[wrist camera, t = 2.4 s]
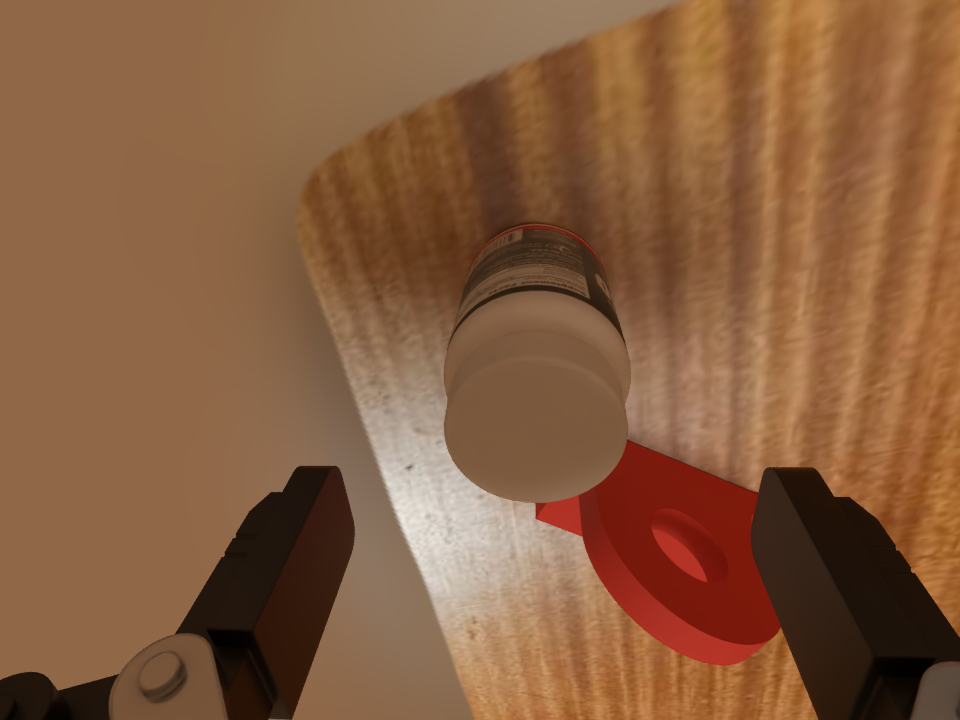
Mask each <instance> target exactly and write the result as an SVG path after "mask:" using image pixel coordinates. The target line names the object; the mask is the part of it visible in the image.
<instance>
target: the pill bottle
mask: <svg viewBox="0 0 960 720" xmlns="http://www.w3.org/2000/svg"><path fill="white" fill-rule="evenodd" d="M630 381H631V367H630V360H629V356H628V352H627V348H626V344H625V340H624V337H623V334H622V330H621V327H620V323H619V320H618V317H617V313H616V309H615V306H614V303H613V299H612V296H611V293H610V289H609V286H608V283H607V278H606V275H605V271H604V269H603V267H602V264H601V262H600V261H599V259H598V257H597V255H596V254H595V252H594V251H593V250H592V248H591V247H590V246H589V245H588V244H587V243H586V242H585V241H584V240H582V239H581V238H579V237H578V236H577V235H575V234H573V233H571V232H569V231H567V230H564V229H562V228H559V227H555V226H551V225H546V224H526V225H521V226H517V227H514V228H511V229H508V230H506V231H504V232H502V233H500V234H499V235H497V236H496V237H494V238H493V239H491V240H490V241H489V242H488V243H487V244H486V245H485V246H484V247H483V248H482V249H481V250H480V251H479V253H478V254H477V256H476V257H475V259H474V261H473V263H472V265H471V267H470V269H469V272H468V276H467V280H466V284H465V288H464V292H463V296H462V299H461V303H460V307H459V310H458V314H457V317H456V321H455V324H454V328H453V331H452V335H451V338H450V341H449V345H448V349H447V354H446V359H445V365H444V384H445V390H446V394H447V397H448V400H447V409H446V415H445V421H444V434H445V441H446V445H447V448H448V451H449V453H450V455H451V457H452V459H453V461H454V463H455V464H456V466H457V467H458V468H459V470H460V471H461V472H462V473H463V474H464V475H465V476H466V477H467V478H468V479H469V480H470V481H472V482H473V483H474V484H476V485H477V486H479V487H480V488H482V489H484V490H485V491H487V492H489V493H492V494H494V495H496V496H499V497H503V498H506V499H510V500H514V501H520V502H529V503H547V502H555V501H560V500H564V499H568V498H571V497H574V496H577V495H579V494H582V493H584V492H586V491H588V490H590V489H591V488H593V487H594V486H596V485H597V484H599V483H600V482H602V481H603V480H604V479H605V478H606V477H607V476H608V475H609V474H610V473H611V472H612V471H613V470H614V468H615V467H616V466H617V464H618V462H619V461H620V459H621V457H622V455H623V452H624V450H625V446H626V442H627V435H628V424H627V417H626V411H625V402H626V400H627V396H628V393H629V388H630Z"/></svg>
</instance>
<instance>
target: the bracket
mask: <svg viewBox="0 0 960 720" xmlns="http://www.w3.org/2000/svg"><path fill="white" fill-rule="evenodd" d="M757 498H758V494H756V493H753V492H751V491H748V490H746V489H744V488H741V487H739V486H736V485H734V484H732V483H729V482H727V481H724V480H722V479H719V478H717V477H715V476H712V475H710V474H707V473H705V472H703V471H700V470H698V469H695V468H693V467H691V466H688V465H686V464H683V463H681V462H678V461H676V460H674V459H671V458H669V457H666V456H664V455H662V454H659V453H657V452H654V451H652V450H650V449H647V448H645V447H642V446H640V445H638V444H635V443H633V442H630V441H628V440H627V442H626V446H625V450H624V452H623V455H622V457H621V459H620V461H619V462H618V464H617V466H616V467H615V468H614V470H613V471H612V472H611V473H610V474H609V475H608V476H607V477H606V478H605V479H604V480H603V481H602V482H600V483H599V484H597V485H596V486H594V487H593V488H591V489H590V490H588V491H586V492H584V493H582V494H579V495H577V496H574V497H571V498H568V499H564V500H560V501H555V502H547V503H536V519H538V520H540V521H543V522H546V523H548V524H551V525H553V526H556V527H559V528H561V529H564V530H566V531H569V532H572V533H574V534H577V535H580V536H582V537H583V540H584V544H585V548H586V551H587V553H588V556H589V559H590V561H591V563H592V565H593V567H594V569H595V571H596V573H597V575H598V576H599V578H600V580H601V581H602V583H603V584H604V586H605V587H606V589H607V590H608V592H609V593H610V594H611V596H612V597H613V598H614V599H615V601H616V602H617V603H618V604H619V605H620V606H621V608H622V609H623V610H624V611H625V612H626V613H627V614H628V615H629V616H630V617H631V618H632V619H633V620H634V621H635V622H636V623H637V624H638V625H640V626H641V627H642V628H643V629H644V630H645V631H647V632H648V633H649V634H650V635H652V636H653V637H654V638H656V639H657V640H659V641H660V642H662V643H663V644H664V645H666V646H668V647H669V648H671V649H673V650H675V651H676V652H678V653H680V654H683V655H685V656H687V657H689V658H692V659H695V660H697V661H700V662H704V663H708V664H715V665H731V664H736V663H739V662H742V661H744V660H745V659H747V658H748V657H750V656H751V655H752V654H753V653H755V652H756V651H757V650H758V649H759V648H761V647H762V646H763V645H764V644H766V643H767V642H768V641H769V640H771V639H772V638H773V637H774V636H775V635H776V634H777V633H778V631H779V629H780V627H781V626H780V623H779V621H778V618H777V616H776V613H775V611H774V608H773V606H772V603H771V601H770V599H769V596H768V594H767V591H766V589H765V586H764V584H763V581H762V579H761V576H760V574H759V571H758V569H757V566H756V564H755V561H754V558H753V554H752V548H751V538H750V534H751V525H752V520H753V516H754V511H755V507H756V502H757Z"/></svg>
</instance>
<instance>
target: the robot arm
mask: <svg viewBox="0 0 960 720" xmlns="http://www.w3.org/2000/svg"><path fill="white" fill-rule="evenodd" d="M354 537H355V527H354V520H353V516H352V512H351V508H350V504H349V501H348V497H347V494H346V489H345V485H344V482H343V477H342V474H341V472H340V469H339V468H338V467H337V466H299V467H297V468H296V469H295V470H294V472H293V474H292V476H291V477H290V479H289V481H288V483H287V485H286V486H285V488H284V490H283V492H271V493H270V494H269V495H267V496H266V497H265V498H264V499H263V500H262V501H261V502H259V503H258V504H257V505H256V506H255V507H254V508H253V509H252V510H251V511H249V513H248V515H247V516H246V518H245V520H244V521H243V523H242V525H241V526H240V528H239V529H238V531H237V533H236V538H233V539H232V541H231V543H230V544H229V546H228V548H227V549H226V551H225V556H224V557H222V558H221V559H220V561H219V563H218V564H217V566H216V568H215V569H214V571H213V572H212V574H211V576H210V577H209V579H208V581H207V582H206V584H205V586H204V588H203V589H202V591H201V592H200V594H199V596H198V597H197V599H196V601H195V602H194V604H193V606H192V607H191V609H190V611H189V613H188V614H187V616H186V617H185V619H184V621H183V622H182V624H181V626H180V627H179V629H178V630H177V632H176V633H175V634H174V635H171V636H168V637H165V638H162V639H160V640H158V641H156V642H154V643H152V644H150V645H149V646H147V647H146V648H145V649H143V650H142V651H141V652H139V653H138V654H137V655H136V656H134V657H133V658H132V659H131V660H130V661H129V662H128V664H127V665H126V666H125V667H124V668H123V669H122V671H121V672H120V674H117V675H114V676H111V677H107V678H103V679H100V680H96V681H92V682H89V683H85V684H81V685H78V686H74V687H70V688H67V689H63V690H59V691H58V690H57V689H56V687H55V686H54V685H53V683H52V682H51V681H50V680H49V678H48V677H46V676H45V675H43V674H40V673H37V672H25V673H19V674H16V675H12V676H9V677H6V678H4V679H2V680H0V720H268V719H269V718H270V719H289V720H291V719H292V717H293V715H294V712H295V709H296V706H297V704H298V701H299V698H300V696H301V692H302V690H303V687H304V684H305V682H306V679H307V676H308V673H309V671H310V668H311V665H312V662H313V660H314V657H315V654H316V651H317V648H318V646H319V643H320V640H321V637H322V634H323V632H324V628H325V626H326V623H327V621H328V618H329V615H330V612H331V609H332V607H333V604H334V601H335V598H336V596H337V593H338V590H339V587H340V584H341V582H342V579H343V576H344V573H345V571H346V568H347V565H348V562H349V559H350V557H351V554H352V550H353V545H354ZM750 538H751V548H752V554H753V558H754V561H755V564H756V566H757V569H758V571H759V574H760V576H761V579H762V581H763V584H764V586H765V589H766V591H767V594H768V596H769V599H770V601H771V603H772V606H773V608H774V611H775V613H776V616H777V618H778V621H779V623H780V626H781V628H782V631H783V633H784V636H785V638H786V640H787V643H788V645H789V648H790V650H791V653H792V655H793V658H794V660H795V663H796V665H797V668H798V670H799V672H800V675H801V677H802V680H803V682H804V685H805V687H806V690H807V692H808V695H809V697H810V700H811V702H812V705H813V707H814V709H815V712H816V714H817V717H818V719H819V720H960V638H959V636H958V635H957V633H956V632H955V630H954V629H953V628H952V626H951V625H950V623H949V622H948V620H947V619H946V618H945V616H944V615H943V613H942V612H941V610H940V609H939V607H938V606H937V605H936V603H935V602H934V600H933V599H932V597H931V596H930V594H929V593H928V592H927V590H926V589H925V587H924V586H923V584H922V583H921V581H920V580H919V579H918V577H917V576H916V574H915V573H912V572H911V567H910V566H909V564H908V563H907V561H906V560H905V558H904V557H903V555H902V554H901V553H900V551H897V550H896V548H895V546H896V545H895V544H894V542H893V541H892V540H891V538H890V537H889V535H888V534H887V532H886V531H885V529H884V528H883V527H882V525H881V524H880V522H879V521H878V519H876V518H875V517H874V516H873V515H871V514H870V513H869V512H868V511H866V510H865V509H864V508H862V507H861V506H860V505H859V504H857V503H856V502H855V501H854V500H852V499H851V498H850V497H834V496H833V494H832V492H831V491H830V489H829V488H828V486H827V485H826V483H825V481H824V480H823V478H822V477H821V475H820V474H819V472H818V471H817V470H816V469H814V468H812V467H768V468H766V469H765V471H764V473H763V476H762V480H761V484H760V489H759V493H758V498H757V502H756V507H755V511H754V516H753V520H752V525H751V534H750Z"/></svg>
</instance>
